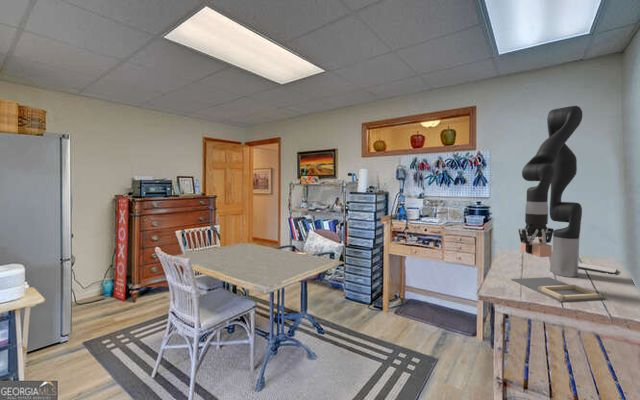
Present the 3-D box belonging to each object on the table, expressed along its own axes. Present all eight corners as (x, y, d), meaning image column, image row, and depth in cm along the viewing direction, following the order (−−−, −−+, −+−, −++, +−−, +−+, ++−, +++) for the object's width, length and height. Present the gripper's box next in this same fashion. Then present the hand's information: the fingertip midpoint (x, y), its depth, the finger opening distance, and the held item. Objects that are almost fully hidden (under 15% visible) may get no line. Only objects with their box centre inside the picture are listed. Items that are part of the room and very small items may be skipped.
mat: (511, 279, 128) (511, 276, 128) (549, 278, 130) (549, 274, 130) (560, 302, 105) (561, 297, 105) (606, 299, 106) (606, 295, 106)
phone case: (617, 272, 139) (573, 264, 151) (618, 269, 138) (574, 261, 151) (615, 276, 133) (570, 268, 145) (616, 273, 133) (570, 265, 145)
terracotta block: (520, 251, 127) (520, 240, 127) (531, 250, 127) (531, 240, 127) (539, 257, 117) (539, 246, 117) (551, 256, 117) (551, 245, 117)
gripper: (545, 211, 125) (543, 250, 127) (513, 212, 124) (512, 251, 125) (560, 213, 118) (559, 254, 119) (527, 213, 117) (526, 256, 118)
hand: (535, 252), depth 122 cm, fingers closed on terracotta block, 5 cm apart
